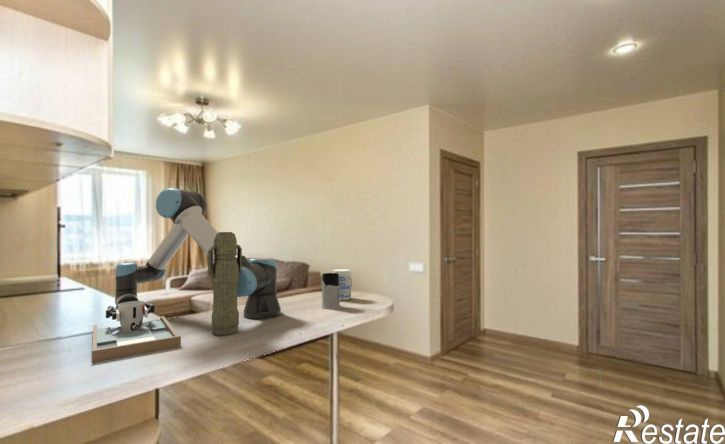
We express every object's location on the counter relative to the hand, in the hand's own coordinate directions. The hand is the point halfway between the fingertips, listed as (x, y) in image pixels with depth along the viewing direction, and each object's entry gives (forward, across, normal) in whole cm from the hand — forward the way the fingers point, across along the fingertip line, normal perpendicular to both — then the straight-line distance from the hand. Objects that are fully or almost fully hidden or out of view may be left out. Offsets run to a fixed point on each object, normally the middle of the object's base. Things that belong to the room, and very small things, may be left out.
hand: (132, 315), depth 126 cm
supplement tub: (-7, -91, -7) cm, 91 cm away
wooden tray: (+6, 0, -6) cm, 9 cm away
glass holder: (+7, -79, -7) cm, 79 cm away
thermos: (+18, -26, -7) cm, 32 cm away
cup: (-5, 0, -7) cm, 8 cm away
